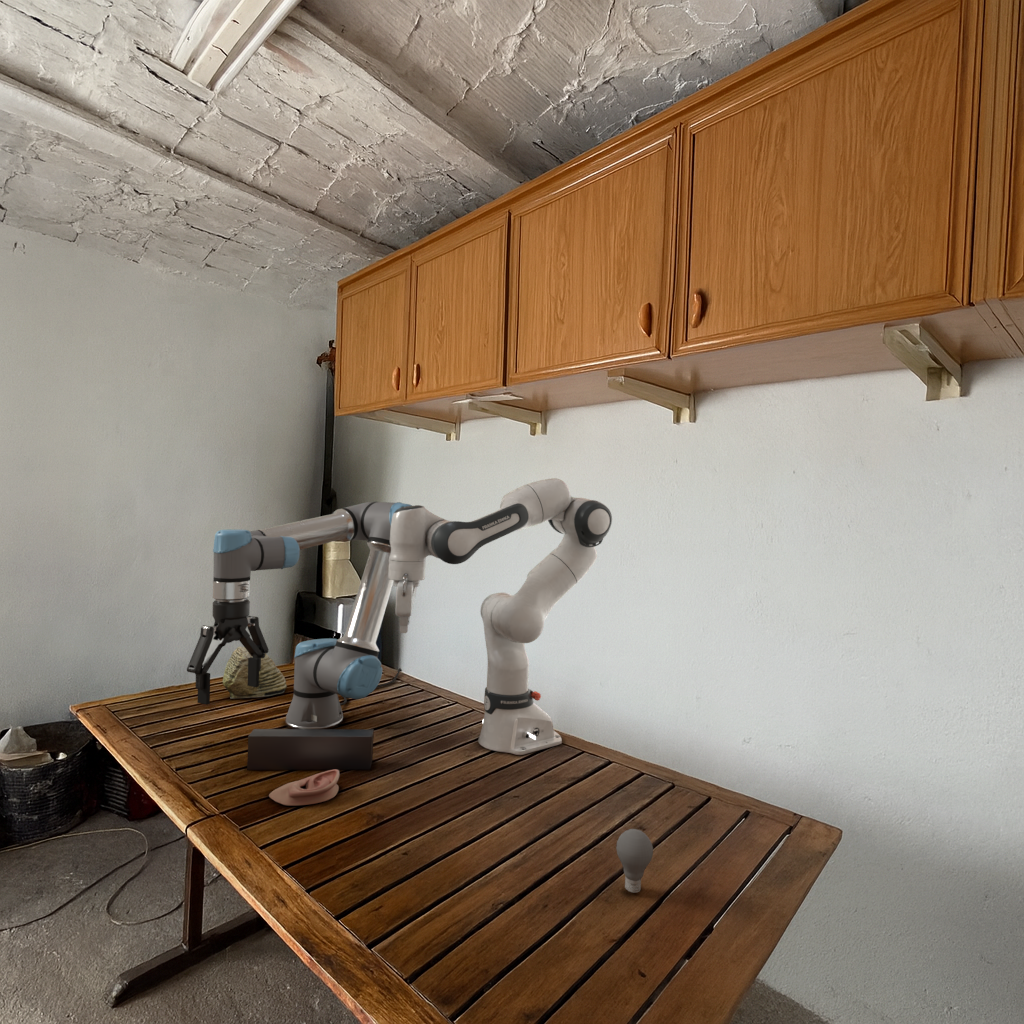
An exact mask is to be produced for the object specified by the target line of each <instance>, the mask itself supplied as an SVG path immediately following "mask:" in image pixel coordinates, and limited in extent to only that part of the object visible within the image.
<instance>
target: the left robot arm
mask: <svg viewBox="0 0 1024 1024" xmlns="http://www.w3.org/2000/svg"><path fill="white" fill-rule="evenodd" d="M406 506H413V505H411V504H410V503H403V502H400V501H399V502H391V501H389V502H387V501H367V502H363V503H358V504H354V505H350V506H347V507H342V508H338V509H335V511H333V512H332V513H330V514H326V515H322V516H321V515H320V516H316V517H312V518H307V519H302V520H297V521H293V522H288V523H284V524H279V525H274V526H269V527H264V528H260V529H257V530H251V531H250V530H248V529H235V528H234V529H220V530H217V531H216V532H215V534H214V539H213V548H212V553H213V573H212V575H213V579H212V584H213V585H212V598H213V599H214V600H213V602H212V617H213V619H214V623H213V625H201V628H200V633H199V638H198V640H197V643H196V644H195V645H196V646H195V647H194V650H193V652H192V655H191V657H190V660H189V662H188V665H187V668H186V672H187V673H191V674H195V686H194V687H195V689H196V690H197V704H202V705H206V706H207V705H210V702H211V700H210V699H211V673H210V672H208V671H209V669H210V668H211V667H212V665H213V663H214V661H215V660H216V658H217V657H218V655H219V653H220V652H221V650H222V649H223V648H224V647H225V646H226V645H227V644H230V643H232V642H237V641H239V642H240V644H241V645H242V647H245V648H246V650H247V651H248V652H249V653H250V655H251V656H252V657H253V658H252V657H250V658H248V686H252V687H259V671H260V670H261V658H264V657H265V653H266V654H268V653H269V647H268V643H267V642H266V640H265V637H264V635H263V632H262V629H261V627H260V619H259V616H253V615H250V612H251V611H250V607H251V606H250V605H251V604H250V603H251V601H250V599H249V598H250V596H251V575H252V574H251V572H255V571H266V570H267V571H268V570H283V569H288V568H289V569H290V568H293V567H294V566H296V565H297V563H298V562H299V559H300V551H301V550H305V549H308V548H312V547H317V546H321V545H324V544H328V543H333V542H336V541H340V542H342V543H347V542H352V541H366V545H367V547H368V548H369V550H370V551H369V554H368V557H367V559H366V564H365V568H364V571H363V574H362V577H361V580H360V583H359V586H358V590H357V593H356V597H355V599H354V603H353V605H352V609H351V613H350V616H349V619H348V622H347V626H346V629H345V632H344V635H342V636H341V637H340V638H338V639H337V638H331V637H329V638H317V639H316V638H315V639H308V640H304V641H300V642H299V643H298V644H297V645H296V646H295V650H294V651H295V652H294V655H293V658H294V672H293V695H292V696H293V697H292V699H291V702H290V704H289V708H288V711H287V713H286V715H285V726H286V728H287V729H336V728H337V727H339V726H340V725H342V723H343V722H344V714H343V709H342V706H344V705H346V704H347V702H348V699H352V700H360V699H365V698H367V697H368V696H369V695H370V694H372V693H373V692H374V691H375V690H376V689H377V688H381V687H385V686H388V685H390V684H391V685H392V684H393V683H394V682H395V681H396V680H397V678H398V677H399V675H400V673H401V672H402V671H403V670H402V668H401V667H399V668H398V669H397V672H398V673H397V672H396V674H395V676H394V677H393V679H391V680H390V681H388V682H386V683H381V684H379V683H380V681H381V680H382V676H383V667H382V662H381V661H380V659H379V658H378V657H379V654H380V649H379V647H378V645H377V641H378V637H379V633H380V631H381V628H382V623H383V620H384V616H385V612H386V609H387V606H388V603H389V599H390V596H391V592H392V589H393V586H394V585H393V580H391V579H389V578H388V572H389V556H390V553H391V545H390V528H391V521H392V516H393V514H394V512H395V511H396V510H397V509H399V508H402V507H406ZM246 629H247V630H248V631H247V630H246ZM339 696H341V697H342V698H343V702H340V699H339Z"/></svg>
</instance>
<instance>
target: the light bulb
mask: <svg viewBox="0 0 1024 1024" xmlns="http://www.w3.org/2000/svg"><path fill="white" fill-rule="evenodd" d="M615 849H616V854H617V857H618V859H619V861H620V863H621V865H622V867H623V873H624V874H623V875H624V876H625V878H624V888H625V890H627V891H628V892H630V893H634V894H635V893H639V892H640V891H641V889H642V887H641V886H642V879H643V877H644V875H645V871H646V868H647V867H648V866H649V864H650V863H651V861H652V859H653V855H654V847H653V843H652V841H651V838H649V836H648V835H647V834H646V833H645V832H643V831H642V830H641V829H636V828H629V829H627V830H625V831H623V832H622V833H621V834H620V835H619V837H618V839H617V841H616V847H615Z"/></svg>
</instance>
